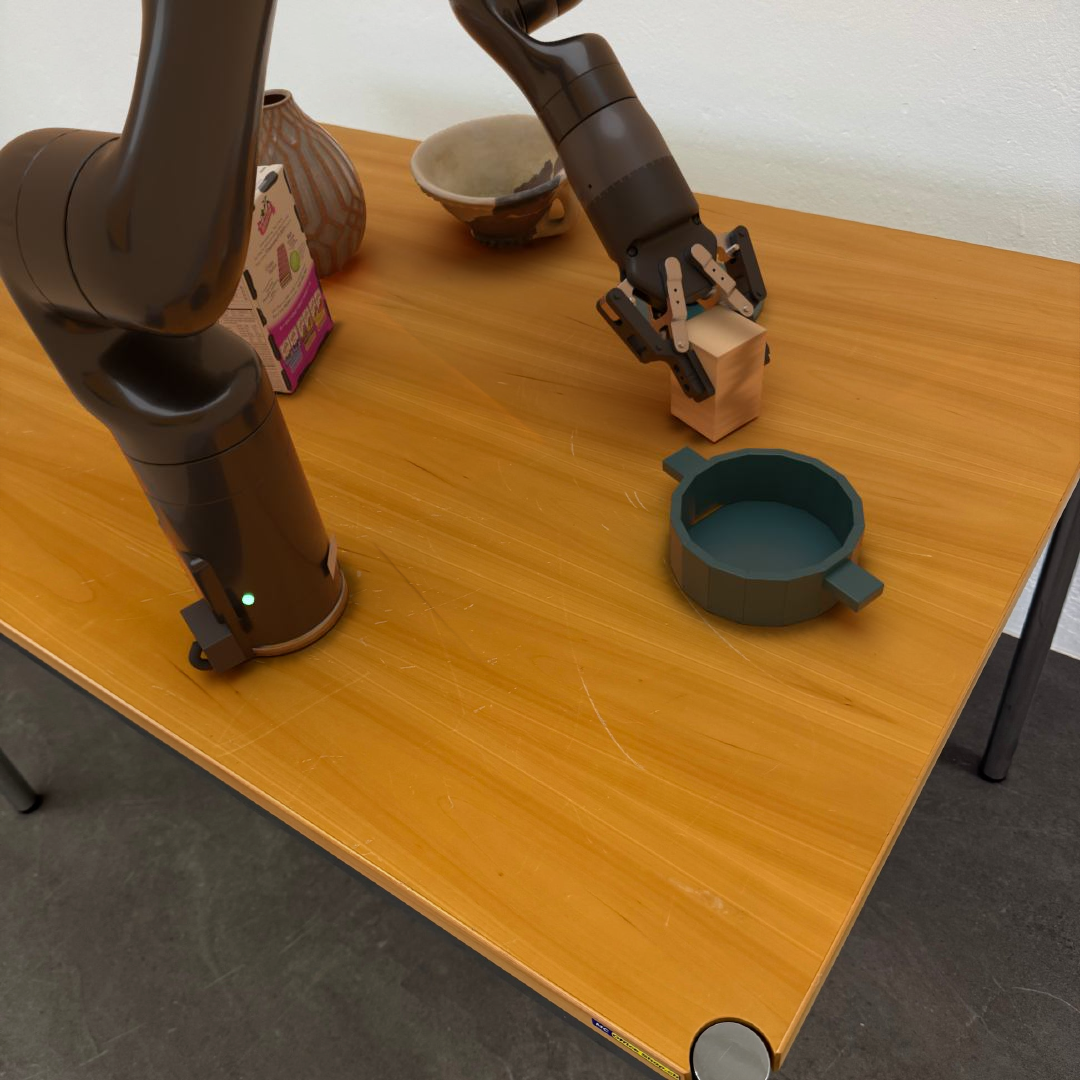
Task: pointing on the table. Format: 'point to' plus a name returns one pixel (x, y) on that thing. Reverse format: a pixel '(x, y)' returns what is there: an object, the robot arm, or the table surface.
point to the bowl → (497, 178)
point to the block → (723, 372)
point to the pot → (766, 536)
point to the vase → (315, 181)
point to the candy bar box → (279, 287)
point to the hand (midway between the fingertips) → (733, 381)
